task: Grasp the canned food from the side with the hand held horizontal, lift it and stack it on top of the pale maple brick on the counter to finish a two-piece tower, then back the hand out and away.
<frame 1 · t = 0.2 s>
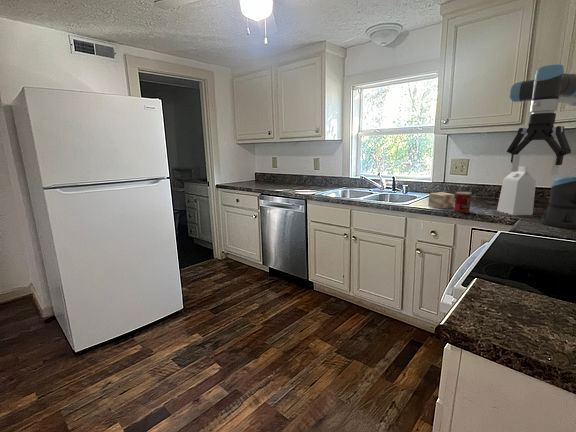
hand: (533, 173, 117), 28 cm above the worktop, tool pointing down, fingers open, 13 cm apart
maple brick: (440, 206, 197), on the worktop
canned food: (461, 211, 182), on the worktop
milk: (514, 213, 178), on the worktop
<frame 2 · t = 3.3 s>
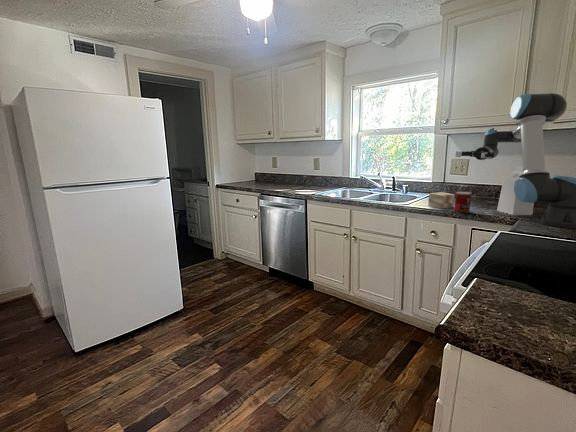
hand: (468, 155, 178), 32 cm above the worktop, tool horizontal, fingers open, 13 cm apart
nothing on the worktop moved.
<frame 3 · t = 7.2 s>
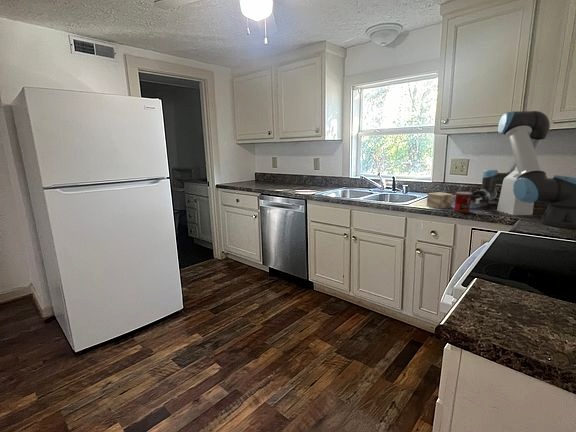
hand: (463, 199, 182), 6 cm above the worktop, tool horizontal, fingers open, 13 cm apart
maple brick: (438, 206, 197), on the worktop
everything else where it was.
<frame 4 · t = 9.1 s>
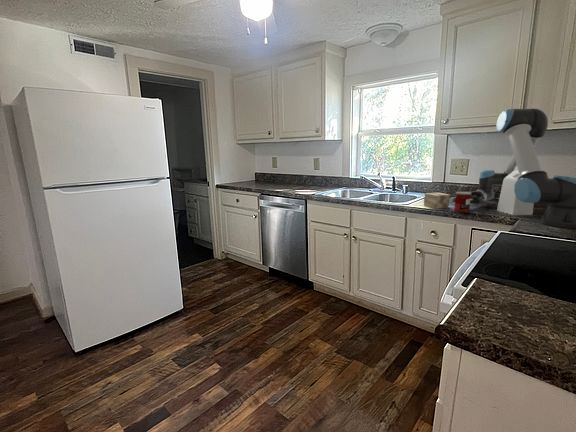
hand: (458, 201, 178), 7 cm above the worktop, tool horizontal, fingers closed on canned food, 8 cm apart
maple brick: (435, 206, 196), on the worktop
canned food: (461, 211, 182), on the worktop, touching gripper
everything else where it was.
when the fingers open (16 cm above the worktop, at t = 13.3 s): canned food drops 2 cm, resting on maple brick.
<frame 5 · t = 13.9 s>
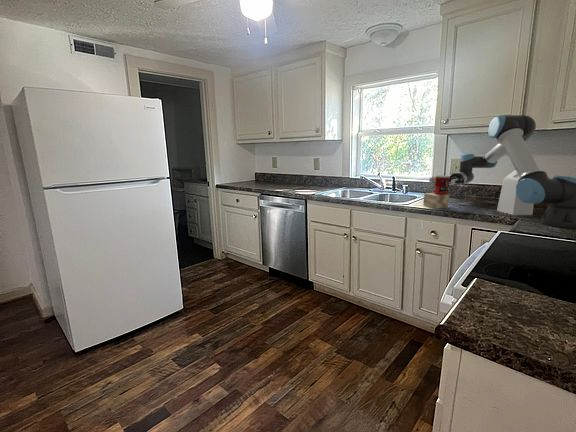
hand: (440, 181, 191), 16 cm above the worktop, tool horizontal, fingers open, 13 cm apart
maple brick: (435, 206, 196), on the worktop, touching canned food
canned food: (441, 194, 195), point 8 cm above the worktop, touching maple brick
everything else where it was.
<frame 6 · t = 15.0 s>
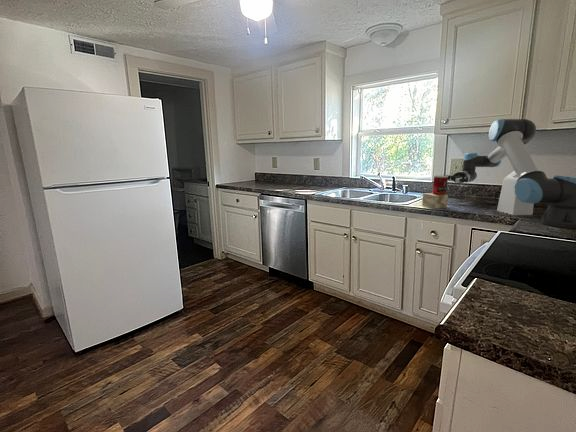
hand: (444, 179, 195), 16 cm above the worktop, tool horizontal, fingers open, 13 cm apart
canned food: (439, 194, 195), point 8 cm above the worktop, touching maple brick
everything else where it was.
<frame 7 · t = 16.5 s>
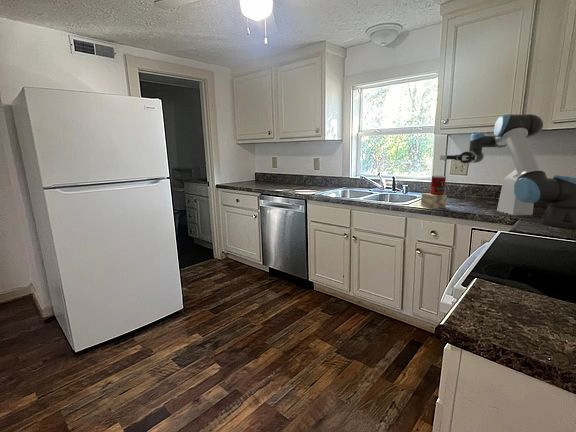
hand: (451, 157, 194), 30 cm above the worktop, tool horizontal, fingers open, 13 cm apart
canned food: (436, 194, 195), point 8 cm above the worktop, touching maple brick
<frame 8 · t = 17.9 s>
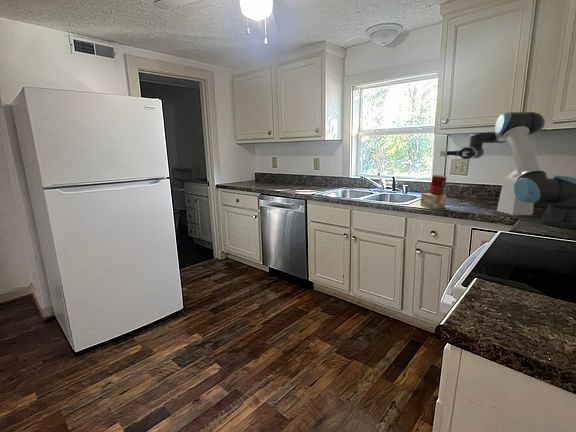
hand: (451, 153, 193), 32 cm above the worktop, tool horizontal, fingers open, 13 cm apart
at the end: canned food inside the target area on the maple brick (1.4 cm from its centre), point 8.0 cm above the maple brick's base; canned food tilted 3°; the gripper is holding nothing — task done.
